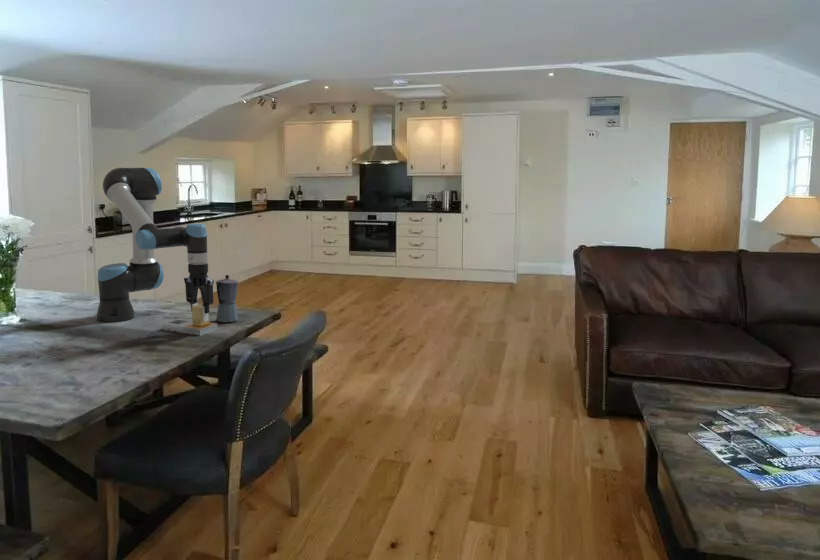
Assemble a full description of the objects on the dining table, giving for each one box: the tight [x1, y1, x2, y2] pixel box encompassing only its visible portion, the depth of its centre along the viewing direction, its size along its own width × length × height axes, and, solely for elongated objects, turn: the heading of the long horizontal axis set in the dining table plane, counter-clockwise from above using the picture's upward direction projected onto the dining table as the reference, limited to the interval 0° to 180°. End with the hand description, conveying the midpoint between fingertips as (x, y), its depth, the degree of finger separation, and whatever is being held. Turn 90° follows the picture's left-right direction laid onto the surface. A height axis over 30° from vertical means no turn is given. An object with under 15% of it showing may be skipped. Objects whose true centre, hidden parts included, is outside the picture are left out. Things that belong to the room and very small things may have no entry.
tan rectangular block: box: [191, 304, 210, 327], centre depth 251 cm, size 4×4×9 cm
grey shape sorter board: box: [161, 318, 218, 336], centre depth 254 cm, size 20×10×3 cm, turn 66°
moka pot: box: [215, 274, 239, 323], centre depth 267 cm, size 10×15×20 cm, turn 174°
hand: (200, 320), depth 251 cm, fingers closed on tan rectangular block, 4 cm apart
